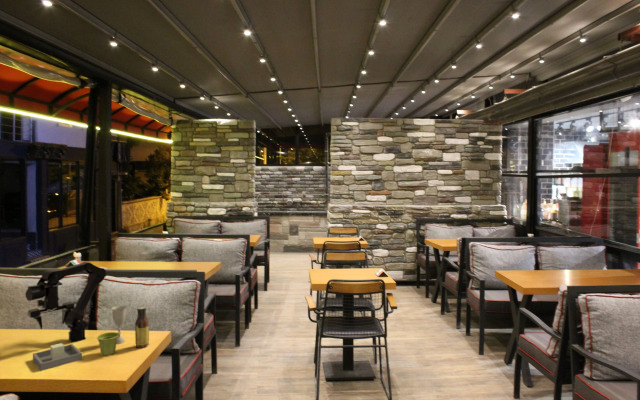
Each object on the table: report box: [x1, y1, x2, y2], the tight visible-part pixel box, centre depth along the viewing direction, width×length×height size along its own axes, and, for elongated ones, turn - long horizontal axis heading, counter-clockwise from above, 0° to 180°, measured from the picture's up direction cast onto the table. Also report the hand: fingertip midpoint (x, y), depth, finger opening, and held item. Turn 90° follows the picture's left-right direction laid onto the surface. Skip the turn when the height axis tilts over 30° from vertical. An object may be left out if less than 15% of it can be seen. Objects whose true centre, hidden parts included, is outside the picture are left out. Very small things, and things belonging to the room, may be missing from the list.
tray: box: [32, 343, 83, 371], centre depth 184 cm, size 16×16×3 cm
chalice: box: [111, 305, 127, 345], centre depth 205 cm, size 7×7×18 cm
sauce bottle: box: [134, 306, 150, 349], centre depth 200 cm, size 7×6×20 cm
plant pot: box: [96, 331, 119, 356], centre depth 191 cm, size 9×9×9 cm
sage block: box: [49, 342, 65, 360], centre depth 184 cm, size 4×4×6 cm
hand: (52, 326), depth 198 cm, fingers open, 9 cm apart
